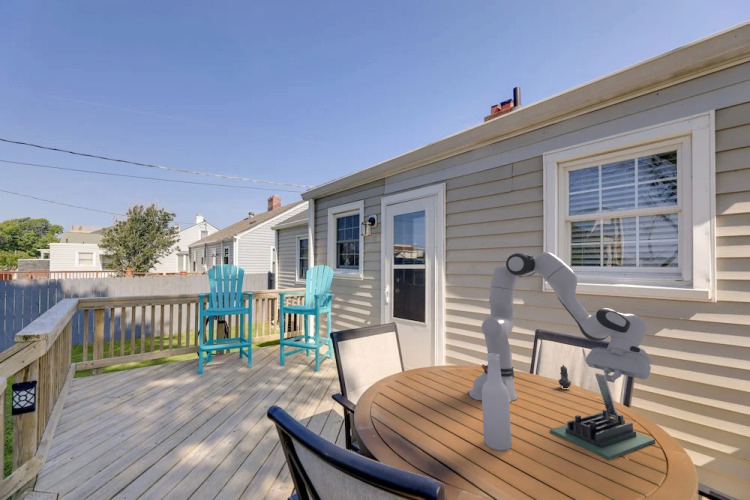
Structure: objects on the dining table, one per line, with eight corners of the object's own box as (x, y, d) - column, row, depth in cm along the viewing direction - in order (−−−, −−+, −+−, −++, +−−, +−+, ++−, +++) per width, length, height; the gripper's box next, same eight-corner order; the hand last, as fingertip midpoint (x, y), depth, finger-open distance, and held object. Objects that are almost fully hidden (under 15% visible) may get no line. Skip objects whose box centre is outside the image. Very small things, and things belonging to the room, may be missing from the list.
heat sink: (600, 422, 120) (598, 404, 121) (636, 435, 109) (634, 416, 110) (565, 432, 112) (564, 413, 113) (601, 448, 101) (599, 427, 102)
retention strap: (608, 416, 116) (609, 414, 116) (617, 419, 113) (618, 417, 113) (594, 374, 115) (596, 373, 115) (603, 376, 112) (605, 375, 113)
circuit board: (594, 419, 125) (594, 416, 125) (655, 442, 107) (654, 439, 107) (550, 432, 114) (549, 429, 114) (609, 460, 96) (608, 456, 96)
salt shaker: (573, 390, 158) (571, 366, 159) (561, 390, 159) (559, 365, 161) (569, 387, 164) (567, 363, 165) (556, 386, 165) (555, 363, 166)
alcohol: (500, 454, 100) (496, 358, 103) (478, 443, 107) (474, 353, 110) (517, 447, 104) (512, 355, 107) (494, 436, 112) (490, 350, 115)
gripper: (589, 341, 129) (576, 368, 124) (649, 350, 111) (636, 382, 106) (597, 351, 131) (584, 378, 126) (657, 362, 112) (644, 394, 107)
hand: (608, 380), depth 115 cm, fingers closed
